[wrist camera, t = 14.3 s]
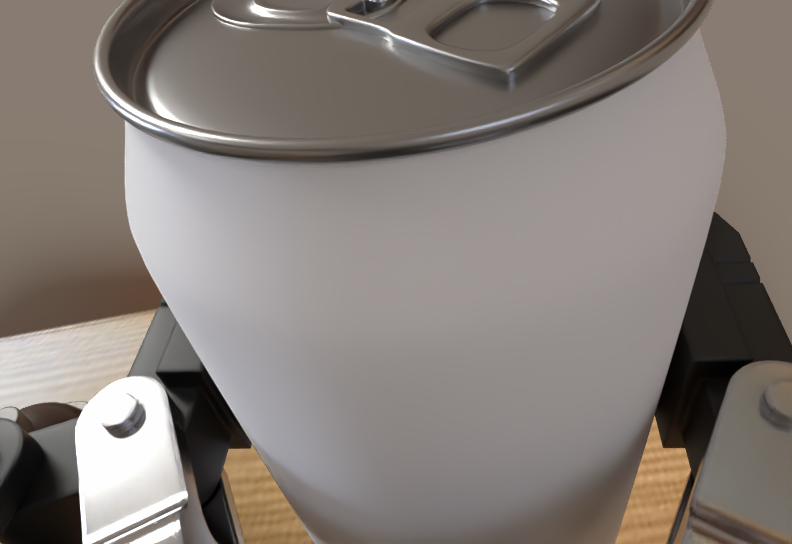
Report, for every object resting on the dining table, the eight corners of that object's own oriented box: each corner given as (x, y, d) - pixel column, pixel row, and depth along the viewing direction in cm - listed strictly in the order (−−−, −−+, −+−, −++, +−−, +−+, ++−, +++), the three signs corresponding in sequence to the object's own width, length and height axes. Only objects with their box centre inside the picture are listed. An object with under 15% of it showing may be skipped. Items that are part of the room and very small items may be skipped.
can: (440, 351, 17) (368, -140, 9) (663, 480, 14) (890, -117, 6) (273, 534, 14) (-77, 55, 6) (505, 756, 11) (467, 377, 2)
